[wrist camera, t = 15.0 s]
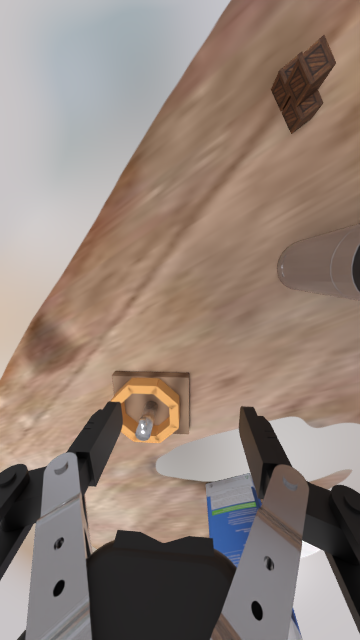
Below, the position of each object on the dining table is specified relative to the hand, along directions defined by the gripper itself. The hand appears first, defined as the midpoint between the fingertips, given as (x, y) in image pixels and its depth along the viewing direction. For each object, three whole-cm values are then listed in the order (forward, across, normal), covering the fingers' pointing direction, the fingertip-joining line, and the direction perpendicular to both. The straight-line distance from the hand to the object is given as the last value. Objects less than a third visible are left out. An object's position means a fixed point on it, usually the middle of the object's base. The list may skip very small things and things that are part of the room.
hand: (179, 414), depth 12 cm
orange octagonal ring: (+26, +10, +22) cm, 36 cm away
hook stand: (+28, +9, +22) cm, 37 cm away
